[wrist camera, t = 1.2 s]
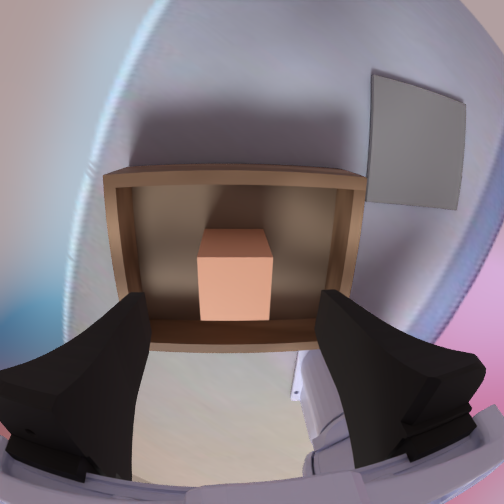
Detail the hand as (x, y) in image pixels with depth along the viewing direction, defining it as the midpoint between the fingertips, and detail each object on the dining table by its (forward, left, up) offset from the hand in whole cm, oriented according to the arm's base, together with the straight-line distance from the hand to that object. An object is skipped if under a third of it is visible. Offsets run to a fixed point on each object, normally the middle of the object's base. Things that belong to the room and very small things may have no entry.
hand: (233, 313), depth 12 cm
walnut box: (-1, 0, -11) cm, 11 cm away
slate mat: (+8, -15, -11) cm, 20 cm away
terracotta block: (-1, 0, -9) cm, 9 cm away
